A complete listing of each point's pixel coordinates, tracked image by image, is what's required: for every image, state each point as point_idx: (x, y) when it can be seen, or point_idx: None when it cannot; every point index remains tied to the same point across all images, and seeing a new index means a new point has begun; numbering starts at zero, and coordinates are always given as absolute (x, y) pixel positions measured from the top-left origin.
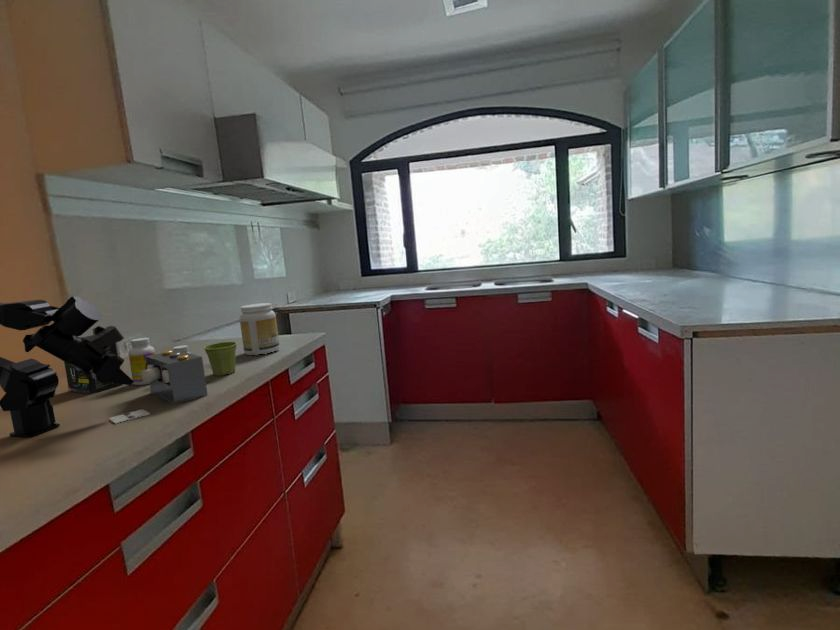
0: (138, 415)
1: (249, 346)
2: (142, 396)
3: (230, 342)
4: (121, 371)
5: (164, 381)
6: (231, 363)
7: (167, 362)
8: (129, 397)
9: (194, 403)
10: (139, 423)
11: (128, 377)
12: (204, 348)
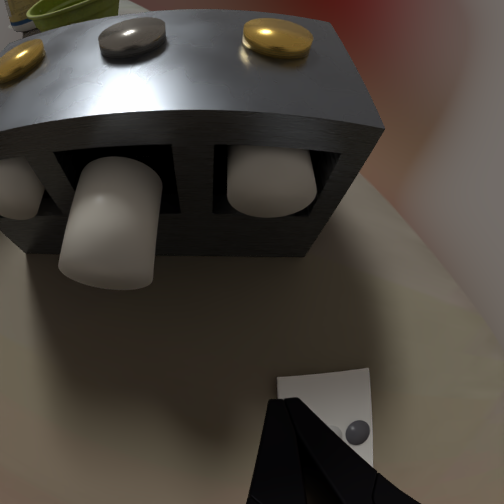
0: (362, 407)
1: None
2: (36, 295)
3: None
4: (402, 498)
5: (253, 213)
6: None
7: (317, 107)
8: (2, 330)
9: (358, 212)
10: (432, 411)
11: (333, 436)
12: (49, 13)
